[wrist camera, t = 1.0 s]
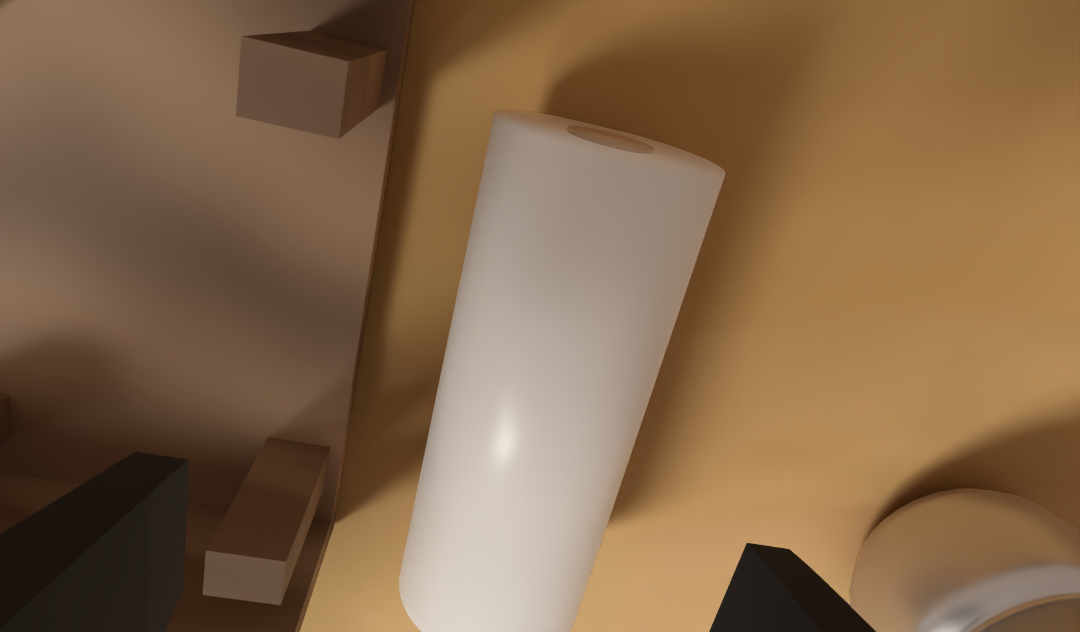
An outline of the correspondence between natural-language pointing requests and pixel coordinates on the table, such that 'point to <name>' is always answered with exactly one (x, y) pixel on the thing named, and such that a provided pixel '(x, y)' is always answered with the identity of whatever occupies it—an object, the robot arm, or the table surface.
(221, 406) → the holder
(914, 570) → the plastic bottle
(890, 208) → the table surface
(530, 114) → the cylinder
